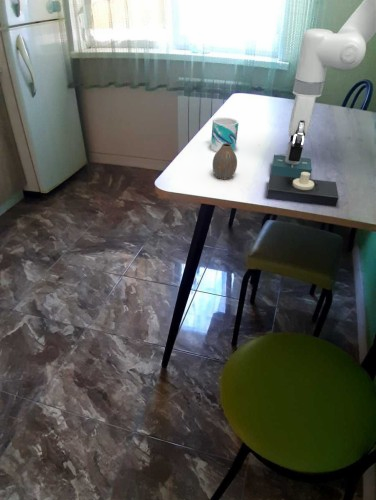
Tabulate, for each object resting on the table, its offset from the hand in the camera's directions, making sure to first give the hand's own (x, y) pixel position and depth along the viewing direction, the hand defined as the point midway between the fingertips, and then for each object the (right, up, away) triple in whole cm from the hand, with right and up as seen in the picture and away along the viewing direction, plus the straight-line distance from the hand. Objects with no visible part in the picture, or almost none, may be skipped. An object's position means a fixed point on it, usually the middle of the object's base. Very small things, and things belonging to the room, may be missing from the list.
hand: (293, 154), depth 119 cm
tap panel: (0, -4, +3) cm, 5 cm away
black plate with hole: (0, -14, -8) cm, 16 cm away
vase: (-21, -7, -1) cm, 22 cm away
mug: (-19, +10, +18) cm, 28 cm away
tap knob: (0, -1, +1) cm, 2 cm away
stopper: (0, -14, -8) cm, 16 cm away
